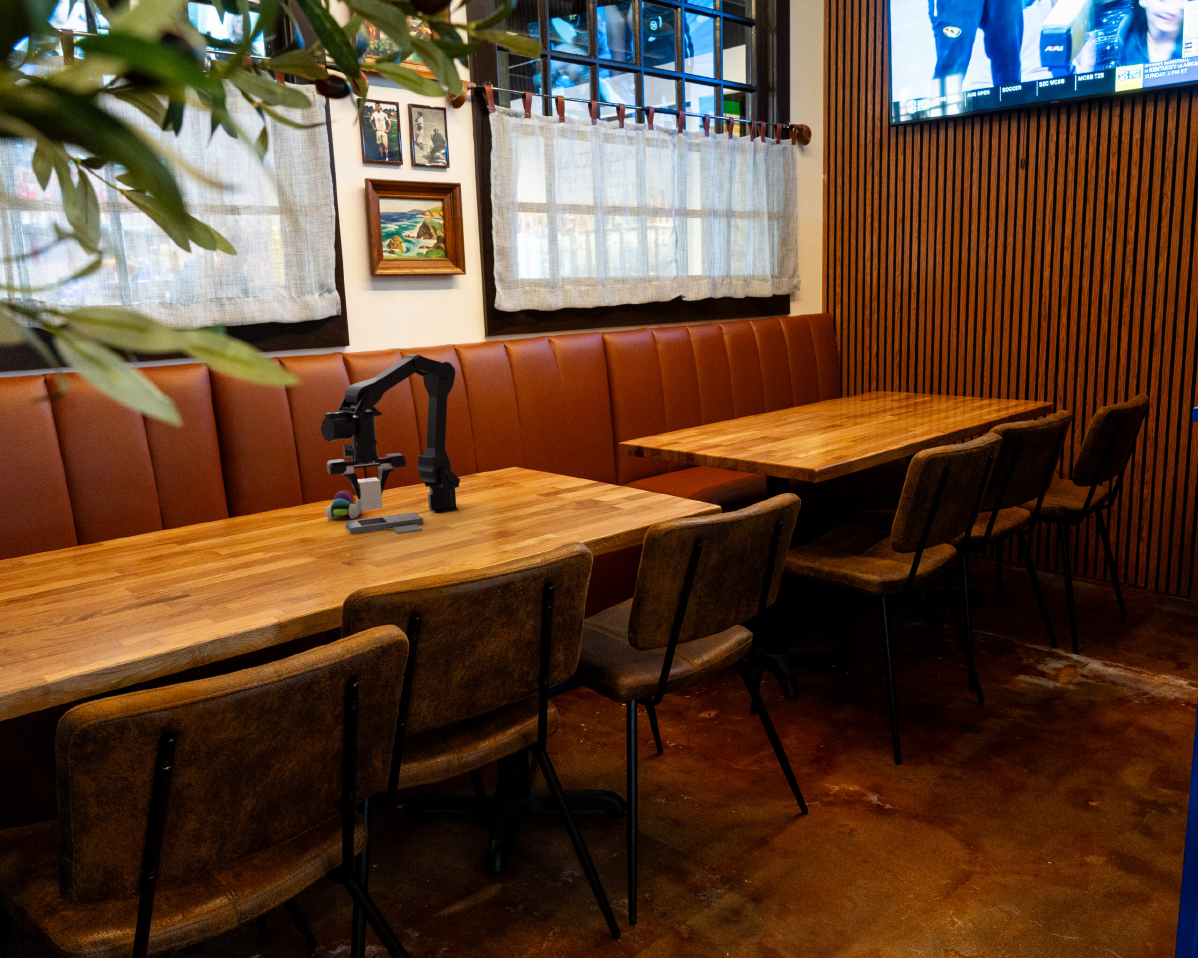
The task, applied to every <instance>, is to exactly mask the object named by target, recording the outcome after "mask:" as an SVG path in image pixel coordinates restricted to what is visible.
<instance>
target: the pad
mask: <svg viewBox="0 0 1198 958" xmlns="http://www.w3.org/2000/svg"><path fill="white" fill-rule="evenodd" d="M391 529H392V530H393V531H394V532H395V533H396V534H406V533H413V532H421V531H422V530H423V529H422V528H421V527H420V526H419V525H417V524H412V525H405V526H397V527H392V528H391Z"/></svg>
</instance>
